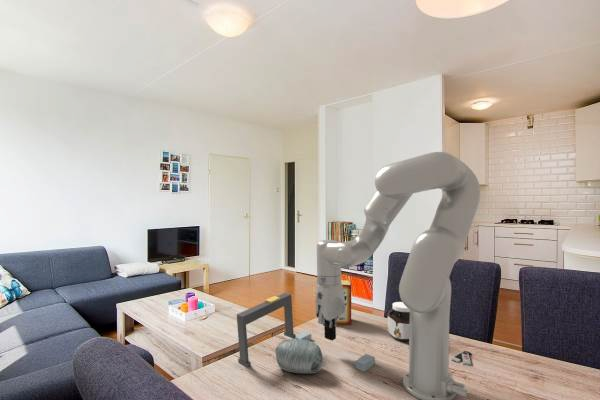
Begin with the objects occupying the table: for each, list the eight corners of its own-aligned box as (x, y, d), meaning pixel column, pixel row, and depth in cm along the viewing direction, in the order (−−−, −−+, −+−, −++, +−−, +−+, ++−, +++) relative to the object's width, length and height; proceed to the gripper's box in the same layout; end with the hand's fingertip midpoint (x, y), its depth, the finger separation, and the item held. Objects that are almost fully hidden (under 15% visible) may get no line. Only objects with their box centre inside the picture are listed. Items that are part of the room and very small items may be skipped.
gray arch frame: (247, 367, 91) (244, 315, 90) (238, 362, 94) (234, 312, 93) (295, 337, 107) (293, 292, 105) (286, 333, 109) (283, 290, 108)
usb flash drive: (464, 353, 101) (464, 350, 101) (481, 359, 97) (481, 356, 97) (450, 361, 96) (450, 358, 96) (468, 368, 92) (468, 365, 92)
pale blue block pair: (374, 363, 94) (374, 356, 94) (364, 371, 89) (364, 364, 89) (304, 336, 112) (304, 331, 112) (293, 342, 107) (293, 336, 107)
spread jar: (384, 334, 114) (384, 302, 114) (406, 328, 119) (406, 298, 119) (410, 348, 103) (410, 312, 103) (433, 341, 109) (433, 307, 109)
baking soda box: (349, 318, 129) (349, 279, 129) (351, 324, 123) (351, 283, 123) (326, 318, 130) (326, 279, 130) (326, 324, 123) (326, 283, 123)
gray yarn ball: (329, 352, 93) (317, 328, 90) (324, 383, 85) (310, 358, 82) (289, 355, 98) (276, 332, 95) (280, 384, 90) (265, 360, 87)
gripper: (324, 286, 91) (325, 350, 90) (352, 277, 102) (353, 334, 102) (304, 282, 96) (305, 343, 95) (333, 274, 107) (334, 328, 107)
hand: (330, 338), depth 99 cm, fingers closed
